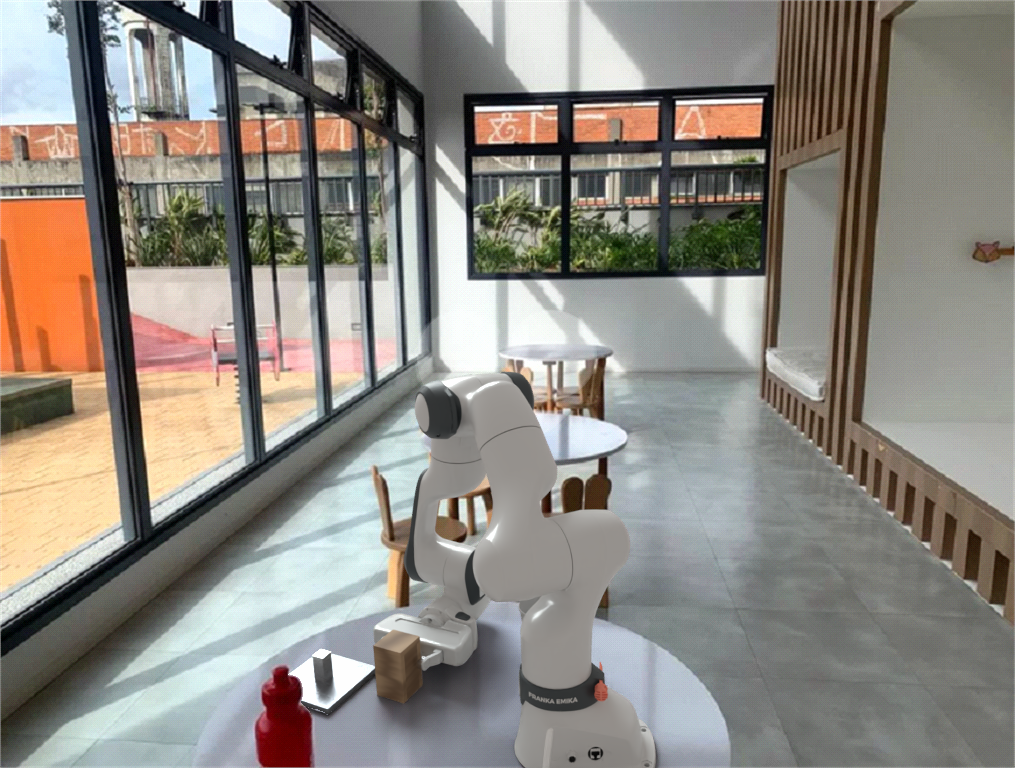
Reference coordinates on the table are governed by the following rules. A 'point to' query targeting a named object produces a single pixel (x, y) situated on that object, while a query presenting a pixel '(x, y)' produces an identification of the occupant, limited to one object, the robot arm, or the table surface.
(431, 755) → the table surface
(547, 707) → the robot arm
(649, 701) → the table surface
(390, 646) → the brown wooden block
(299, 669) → the metal square peg base
